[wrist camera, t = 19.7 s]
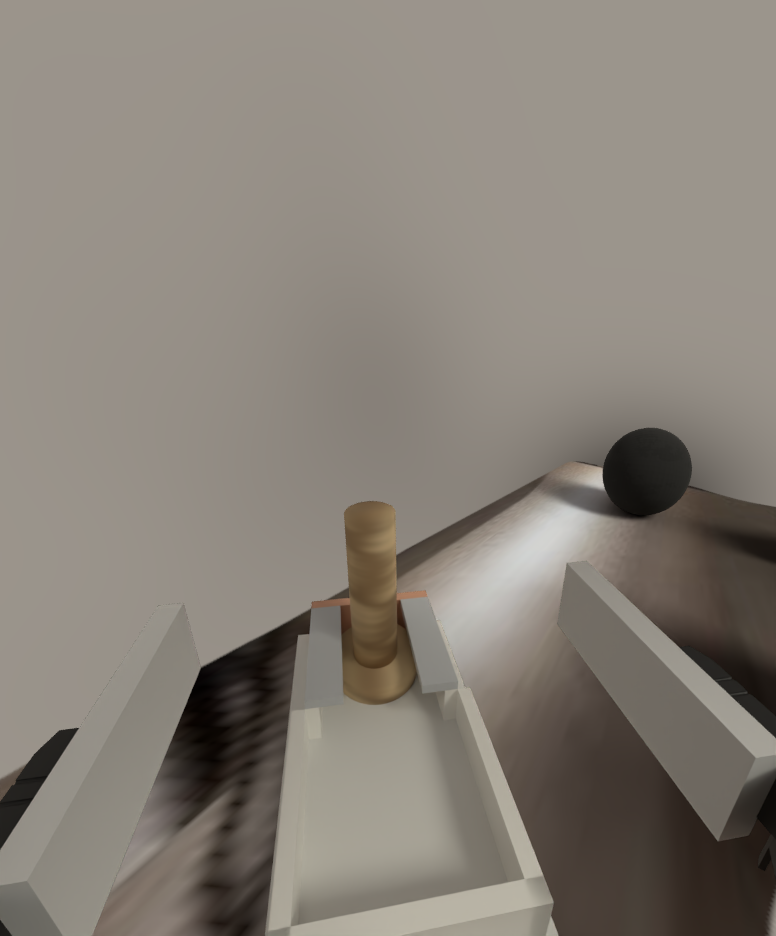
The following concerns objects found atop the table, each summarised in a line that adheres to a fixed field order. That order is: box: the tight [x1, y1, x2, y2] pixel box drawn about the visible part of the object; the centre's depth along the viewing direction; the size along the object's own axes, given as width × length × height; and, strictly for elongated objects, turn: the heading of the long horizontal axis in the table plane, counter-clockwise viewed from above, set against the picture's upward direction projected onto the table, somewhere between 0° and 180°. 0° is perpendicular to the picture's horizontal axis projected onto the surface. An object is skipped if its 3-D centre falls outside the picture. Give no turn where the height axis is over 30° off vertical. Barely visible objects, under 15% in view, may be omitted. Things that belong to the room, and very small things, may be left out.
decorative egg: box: [603, 428, 692, 515], centre depth 65 cm, size 12×12×15 cm
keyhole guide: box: [265, 591, 558, 936], centre depth 28 cm, size 15×24×5 cm, turn 8°
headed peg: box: [341, 501, 417, 705], centre depth 33 cm, size 8×8×16 cm
